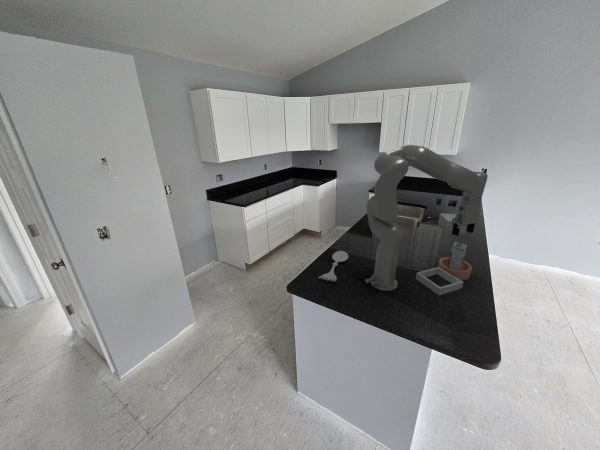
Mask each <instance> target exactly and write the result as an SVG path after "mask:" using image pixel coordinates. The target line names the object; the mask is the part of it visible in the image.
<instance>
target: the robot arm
mask: <svg viewBox="0 0 600 450" xmlns="http://www.w3.org/2000/svg"><path fill="white" fill-rule="evenodd" d="M373 167H374V170H375V171H376V172H377V173H378V174H379V178H378V179H377V180H376V182H375V184H374V187H373V188H374V191H373V193H374V195H373V196H371V197H369V199H368V201H367V202H366V214H367V220H368V226H369V229H370V231H371V233H373V234H374V235H375V236H376V237H377V238H378V239H380V242H379V243H378V246H377V247H376V252H375V253H376V254H375V263H374V273H372V275H371V276H370V278H365V280H364V281H365V283H366V284H369V283H370V285H371V286H373V288H375V289H377V290H380V291H383V292H384V291H385V292H389V291H390V292H392V291H394V290H395V289H397V288H398V281H397V279H396V273H397V267H398V266H397V265H398V260H399V259H398V258H399V253H400V249H401V248H400V247H401V244H402V242H403V239H404V235H405V234H404V229H402V227H401V226H400V225H399V224H397V223H396V222H394V221H395V220H396V219H397V218H398V215H399V208H398V201H397V200H398V199H397V187H398V185H399V183H400V181H401V180H403V178H404V177H405V176H406V175H407V173H408V171H409V167H412V168H415V169H417V170H418V171H420V172H422V173H423V174H426V175H428V176H429V177H431V178H434V179H436V180H438V181H442V182H445V183H447V185H448V186H449V187H451V188H453V189H456V190H460V191H463V192H462V196H461V199H460V203H459V205H458V208H457V209H456V213H455V214H456V217H454V218H453V219H452V225H453V229H452V234H451V235H453V236H456V237H458V236H459V235H460V234H459V231H460V228H459V227H460V226H461V225H462V224H463V225H467V224H468V225H467V229H466V233H470V234H473V233H474V230H475V228H476V227H475V226H476V225H477V222H478V221H479V219H480V218H481V215H480V213H481V207H482V206H481V205H482V203H481V202H482V198H483V195H484V192H485V191H484V190H485V188H486V184H487V181H488V178H489V176H488V173H486V172H483V171H472V169H469V168H466V167H464V166H462V165H459V164H458V163H456V162H453V161H452V160H449V159H446V158H445V157H443V156H442V155H439V154H437V153H436V152H434V151H433V150H431V149H429V148H427V147H425V146H421V145H415V144H407V145H403V146H400V147H398V148H395V149H392V150H389V151H386V152H384V153H382V154H380V155H379V156H378V157H376V159H375V160H374V163H373ZM460 221H461V222H460ZM457 223H459V225H458V224H457Z"/></svg>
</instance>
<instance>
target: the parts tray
mask: <svg viewBox="0 0 600 450" xmlns="http://www.w3.org/2000/svg"><path fill="white" fill-rule="evenodd" d="M436 275H438V276H440V278H442V279H444V280H445V281H447V282H449V283H450V284H446V285H443V286H439V285H438V284H436V283H435V282H434V281H432V280H431V279H429V278H430V277H432V276H436ZM415 280H417V281H418V282H419V283H421V284H422V285H423V286H426V288H428V289H430V290H431V291H432V292H433V293H435V294H436V295H438V296H442V295H445V294H448V293H450V292H454V291H457V290H461V289H462V288H463V286H464V280H459V279H458V278H456V277H454V276H453V275H451V274H449V273H448V272H446V271H444V270H442V269H441V268H439V267H438V266H437V267H434V268H430V269H427V270H426V269H425V270H422V271H418V272H416V275H415Z"/></svg>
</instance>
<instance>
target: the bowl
mask: <svg viewBox="0 0 600 450" xmlns="http://www.w3.org/2000/svg"><path fill="white" fill-rule="evenodd" d="M449 257H450V256H449ZM449 257H448V256H445V257H441V258H439V260H438V264H437V267H439V268H441V269H442V270H444V271H446V272H448V273H449V274H451V275H453V276H454V277H456V278H458V279H459V280H461V281H465V280H469V279H470V276H471V273H472V270H473V266H472V265H471V264H470V263H469V262H467V261H466V260H463V263H462V267H461V270H460V271H458V270H453V269H450V268H448V267H447V265H448V261H449Z"/></svg>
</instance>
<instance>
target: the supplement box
mask: <svg viewBox="0 0 600 450" xmlns="http://www.w3.org/2000/svg"><path fill="white" fill-rule="evenodd" d="M454 217H456V213H439V216H438V220H437V221H438V222H437V225H438V227H439V228H440V229H441V231H442V232H444V234H449V235H453V234H452V229H453V225H452V219H453V218H454ZM460 222H461V221H460ZM457 224H458V225H459V223H457ZM467 225H468V224H467ZM467 225H463V224H462V225H461V226H460V227H459V228H460V231H459V235H462V236H463V235H466V234H467V231H466V229H467Z"/></svg>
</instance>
